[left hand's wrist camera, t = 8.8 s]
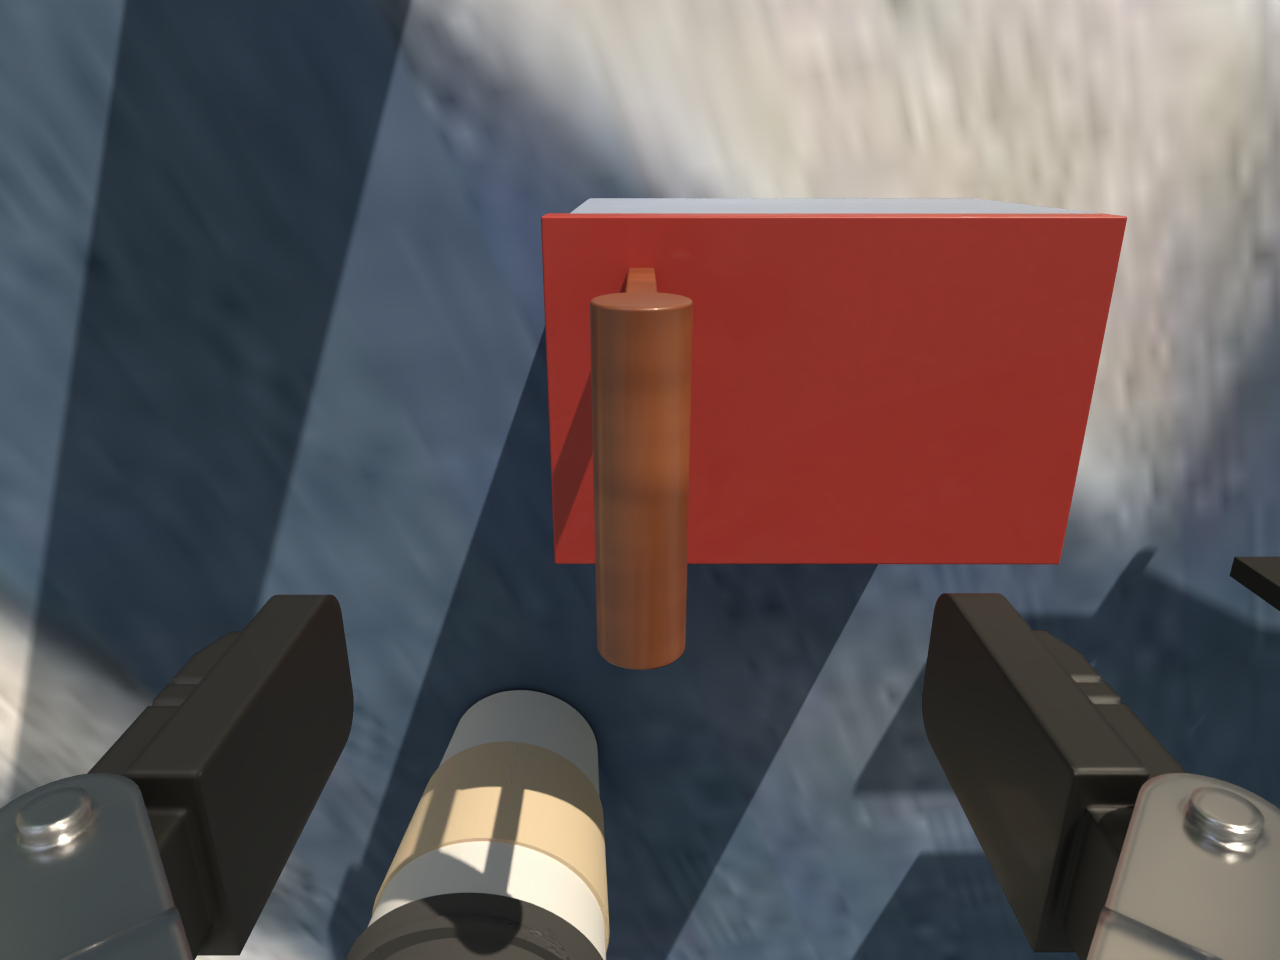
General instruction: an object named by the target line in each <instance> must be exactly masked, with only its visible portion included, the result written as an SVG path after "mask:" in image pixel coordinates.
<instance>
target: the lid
mask: <svg viewBox="0 0 1280 960" xmlns="http://www.w3.org/2000/svg"><path fill="white" fill-rule="evenodd" d="M1126 221H1127V217H1125V216H1118V215H1110V214H945V213H548V214H546V215H544V216H542V217H541V232H542V257H543V282H544V307H545V332H546V357H547V382H548V408H549V433H550V458H551V483H552V508H553V533H554V558H555V564H595V579H596V627H597V649H598V651H599V653H600V655H601V656H602V657H603V658H604V659H605V660H606V661H608V662H609V663H611V664H613V665H616V666H619V667H622V668H626V669H633V670H649V669H656V668H660V667H664V666H667V665H669V664H671V663H673V662H675V661H676V660H677V659H678V658H680V656H681V655H682V654H683V652H684V650H685V645H686V600H687V564H1059V562H1060V557H1061V552H1062V547H1063V542H1064V537H1065V532H1066V527H1067V522H1068V516H1069V511H1070V506H1071V501H1072V496H1073V491H1074V486H1075V481H1076V476H1077V471H1078V466H1079V460H1080V455H1081V450H1082V445H1083V440H1084V435H1085V430H1086V425H1087V420H1088V415H1089V409H1090V404H1091V399H1092V394H1093V389H1094V384H1095V379H1096V374H1097V369H1098V364H1099V358H1100V353H1101V348H1102V343H1103V338H1104V333H1105V328H1106V323H1107V318H1108V313H1109V307H1110V302H1111V297H1112V292H1113V287H1114V282H1115V277H1116V272H1117V267H1118V262H1119V256H1120V251H1121V246H1122V241H1123V236H1124V231H1125V226H1126Z"/></svg>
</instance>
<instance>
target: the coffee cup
mask: <svg viewBox="0 0 1280 960" xmlns="http://www.w3.org/2000/svg"><path fill="white" fill-rule="evenodd" d="M608 942H609V914H608V894H607V875H606V856H605V837H604V817H603V808H602V804H601V800H600V798H599V772H598V749H597V743H596V739H595V736H594V733H593V731H592V729H591V727H590V726H589V724H588V723H587V721H586V720H585V719H584V718H583V716H582V715H581V714H580V713H579V712H578V711H576V710H575V709H574V708H573V707H571V706H570V705H569V704H567V703H565V702H564V701H562V700H560V699H558V698H556V697H553V696H551V695H548V694H544V693H541V692H536V691H528V690H512V691H505V692H500V693H496V694H493V695H491V696H488V697H486V698H484V699H482V700H480V701H479V702H477V703H476V704H474V705H473V706H472V707H471V708H470V709H469V710H468V711H467V712H466V713H465V714H464V715H463V717H462V718H461V720H460V721H459V723H458V725H457V728H456V730H455V732H454V734H453V736H452V739H451V741H450V743H449V745H448V748H447V750H446V752H445V754H444V757H443V759H442V761H441V763H440V766H439V768H438V769H437V770H436V771H435V773H434V774H433V775H432V777H431V778H430V780H429V782H428V784H427V786H426V789H425V791H424V793H423V795H422V797H421V800H420V802H419V804H418V806H417V809H416V811H415V813H414V815H413V817H412V820H411V822H410V824H409V826H408V828H407V831H406V833H405V835H404V837H403V839H402V842H401V844H400V846H399V848H398V850H397V853H396V855H395V857H394V859H393V861H392V864H391V866H390V868H389V870H388V872H387V875H386V877H385V879H384V881H383V884H382V886H381V888H380V890H379V892H378V895H377V897H376V900H375V903H374V907H373V913H372V918H371V921H370V923H369V925H368V927H367V929H366V930H365V931H364V932H363V933H362V934H361V935H360V936H359V937H358V939H357V940H356V941H355V943H354V944H353V946H352V948H351V950H350V951H349V953H348V956H347V958H346V960H606V951H607V947H608Z"/></svg>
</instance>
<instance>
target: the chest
mask: <svg viewBox="0 0 1280 960" xmlns="http://www.w3.org/2000/svg"><path fill="white" fill-rule="evenodd" d="M571 213H945V214H1098V213H1092V212H1084V211H1075V210H1067V209H1058V208H1050V207H1042V206H1033V205H1025V204H1016V203H1008V202H999V201H991V200H983V199H974V198H590V199H588V200H587V201H585V202H584V203H583V204H581V205H580V206H579V207H577V208H576V209H575V210H573V211H572V212H571Z"/></svg>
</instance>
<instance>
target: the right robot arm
mask: <svg viewBox="0 0 1280 960" xmlns="http://www.w3.org/2000/svg"><path fill="white" fill-rule="evenodd" d="M1230 576H1231V577H1232V578H1234V579H1235V580H1237V581H1238V582H1239V583H1241V584H1242V585H1244V586H1245V587H1246V588H1248V589H1249V590H1251V591H1252V592H1253V593H1255V594H1256V595H1258V596H1259V597H1261V598H1262V599H1263V600H1265V601H1266V602H1268V603H1269V604H1270V605H1272V606H1273V607H1275V608H1276V609H1278V610H1279V611H1280V557H1235V558H1234V561H1233V565H1232V569H1231V572H1230Z"/></svg>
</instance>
